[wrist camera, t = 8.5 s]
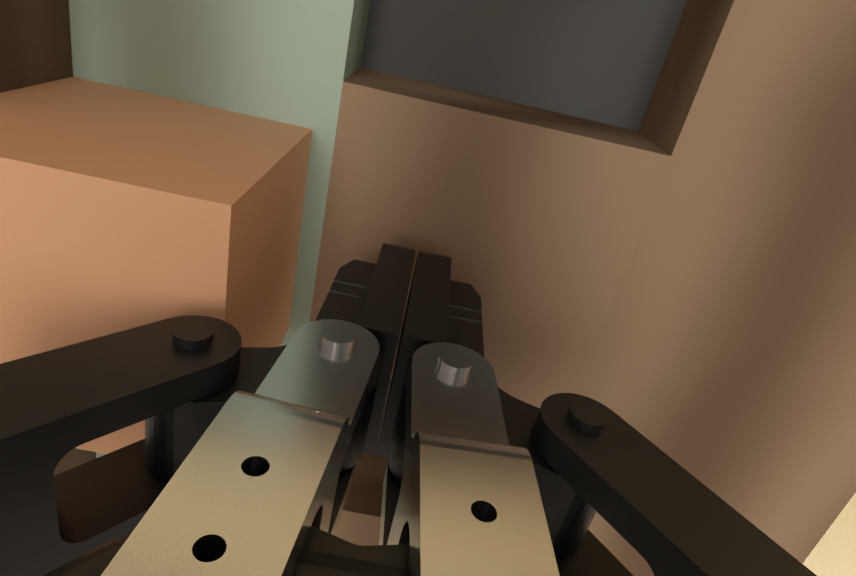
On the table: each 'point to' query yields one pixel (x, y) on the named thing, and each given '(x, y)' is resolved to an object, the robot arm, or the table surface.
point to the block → (142, 218)
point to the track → (560, 200)
